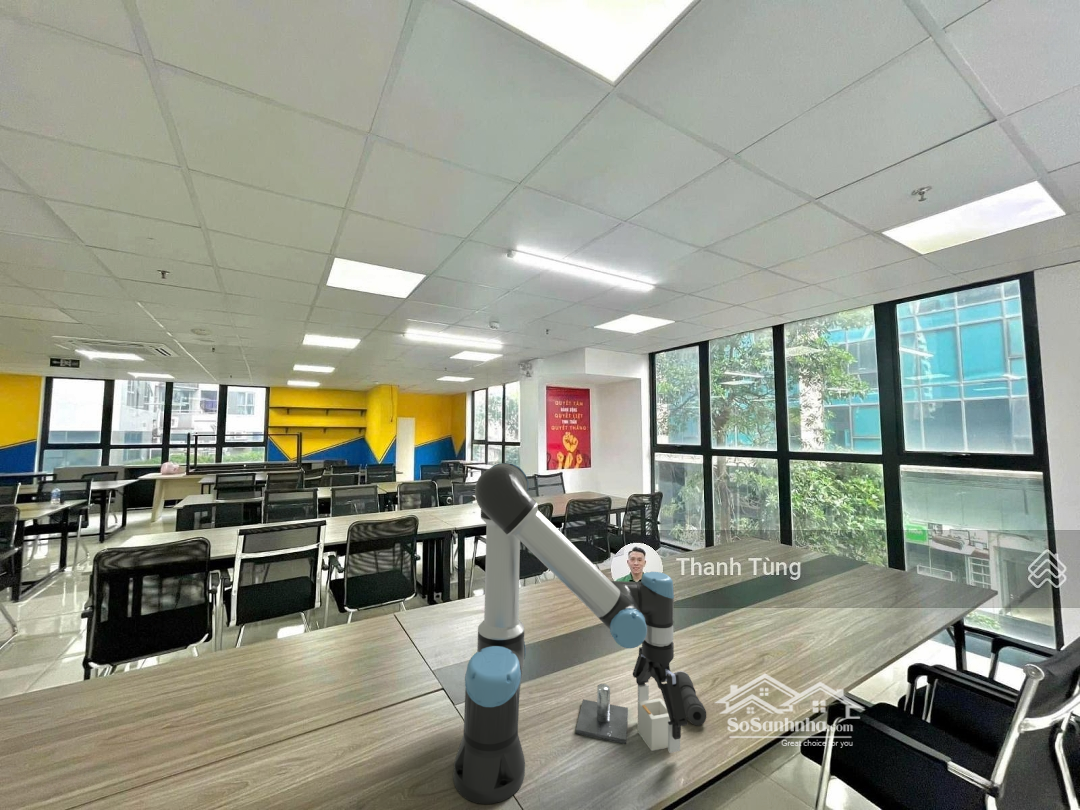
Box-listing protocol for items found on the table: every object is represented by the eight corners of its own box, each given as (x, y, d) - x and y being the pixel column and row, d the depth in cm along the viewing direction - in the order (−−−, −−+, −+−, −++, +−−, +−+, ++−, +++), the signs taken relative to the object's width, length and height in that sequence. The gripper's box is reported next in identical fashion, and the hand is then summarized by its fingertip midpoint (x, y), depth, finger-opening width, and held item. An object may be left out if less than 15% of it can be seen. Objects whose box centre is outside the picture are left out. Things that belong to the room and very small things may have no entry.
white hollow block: (675, 745, 99) (676, 713, 99) (651, 750, 97) (651, 718, 97) (660, 727, 105) (660, 696, 105) (637, 731, 103) (637, 700, 104)
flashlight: (708, 728, 105) (708, 706, 106) (686, 726, 106) (686, 704, 106) (690, 690, 121) (690, 671, 121) (671, 689, 121) (671, 670, 121)
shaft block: (626, 744, 99) (626, 706, 99) (575, 733, 102) (576, 697, 102) (627, 711, 110) (628, 678, 111) (582, 703, 113) (583, 670, 114)
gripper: (703, 664, 91) (704, 766, 90) (644, 616, 115) (644, 695, 114) (674, 669, 89) (674, 773, 88) (620, 618, 113) (619, 700, 112)
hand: (657, 730), depth 101 cm, fingers open, 13 cm apart
